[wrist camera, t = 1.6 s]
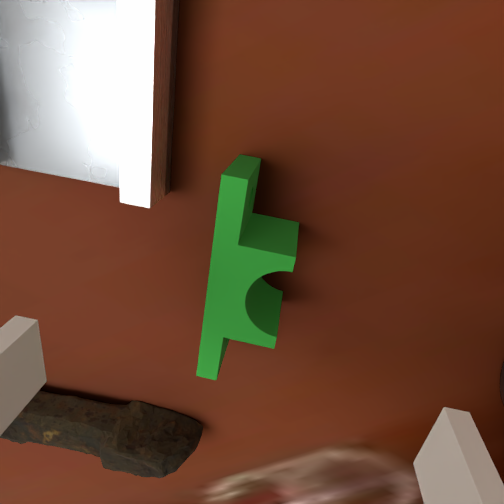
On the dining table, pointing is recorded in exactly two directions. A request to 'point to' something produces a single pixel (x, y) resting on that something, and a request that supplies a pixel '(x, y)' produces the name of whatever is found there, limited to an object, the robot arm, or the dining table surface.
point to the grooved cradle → (90, 91)
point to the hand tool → (109, 432)
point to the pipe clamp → (243, 269)
